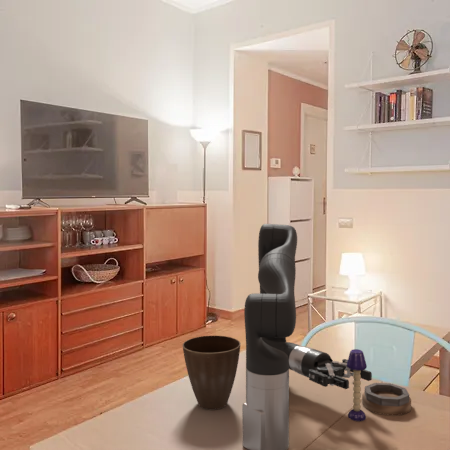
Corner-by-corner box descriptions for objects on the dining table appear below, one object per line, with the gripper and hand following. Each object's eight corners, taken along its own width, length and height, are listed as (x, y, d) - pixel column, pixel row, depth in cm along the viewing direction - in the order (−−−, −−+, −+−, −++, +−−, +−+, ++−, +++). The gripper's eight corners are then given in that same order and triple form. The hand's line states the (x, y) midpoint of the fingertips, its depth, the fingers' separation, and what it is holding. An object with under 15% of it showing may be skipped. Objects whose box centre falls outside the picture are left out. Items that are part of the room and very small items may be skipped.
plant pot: (206, 422, 122) (206, 356, 121) (172, 402, 134) (171, 342, 132) (252, 405, 132) (252, 344, 130) (216, 388, 143) (216, 332, 142)
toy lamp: (366, 423, 121) (367, 354, 120) (346, 421, 122) (347, 353, 121) (365, 414, 126) (366, 348, 125) (345, 412, 127) (346, 347, 126)
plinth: (392, 419, 123) (392, 404, 122) (352, 403, 132) (352, 389, 132) (420, 406, 130) (421, 392, 130) (381, 392, 139) (381, 378, 139)
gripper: (290, 354, 131) (340, 372, 118) (328, 343, 139) (378, 359, 126) (290, 382, 131) (339, 403, 118) (328, 370, 140) (377, 388, 127)
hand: (359, 380), depth 122 cm, fingers open, 8 cm apart
